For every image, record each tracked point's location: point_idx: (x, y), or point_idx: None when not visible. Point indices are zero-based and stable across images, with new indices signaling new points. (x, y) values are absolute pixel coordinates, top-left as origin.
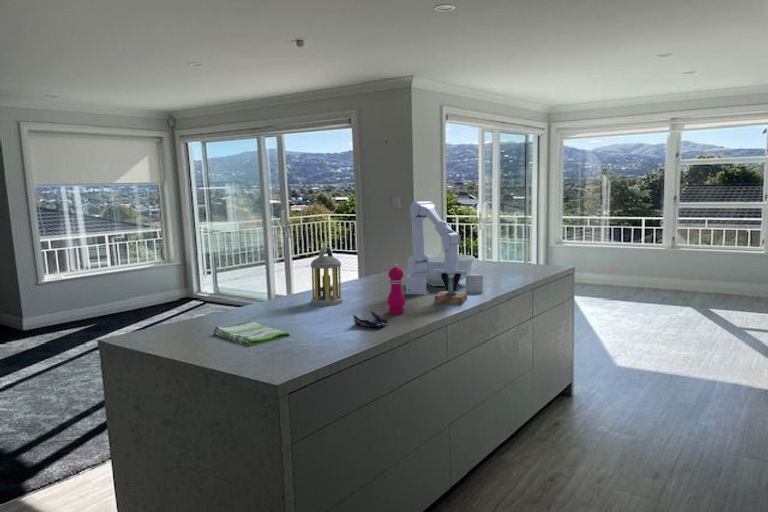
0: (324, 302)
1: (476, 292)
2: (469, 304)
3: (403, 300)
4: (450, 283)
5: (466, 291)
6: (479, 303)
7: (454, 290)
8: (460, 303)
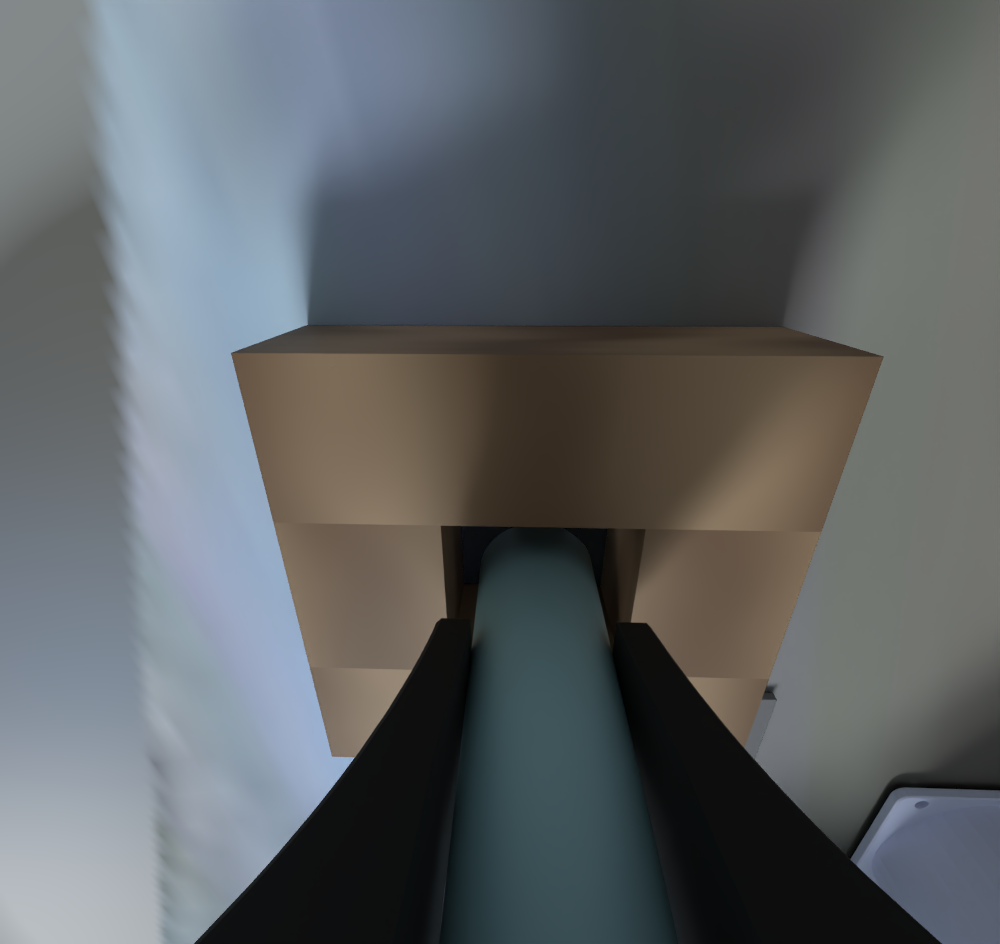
0: None
1: None
2: (235, 433)
3: None
4: (559, 792)
5: None
6: (143, 524)
7: (456, 629)
8: (321, 331)
